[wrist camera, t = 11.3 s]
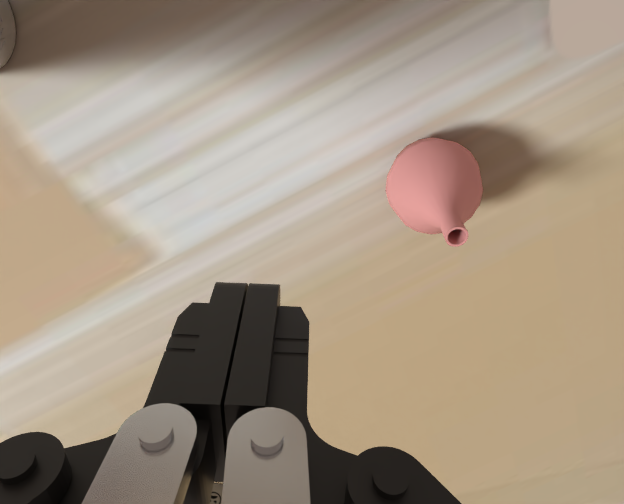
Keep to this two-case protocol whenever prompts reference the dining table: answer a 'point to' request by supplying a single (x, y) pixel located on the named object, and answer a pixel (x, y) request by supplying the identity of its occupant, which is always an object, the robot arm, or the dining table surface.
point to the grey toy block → (216, 494)
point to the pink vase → (435, 188)
